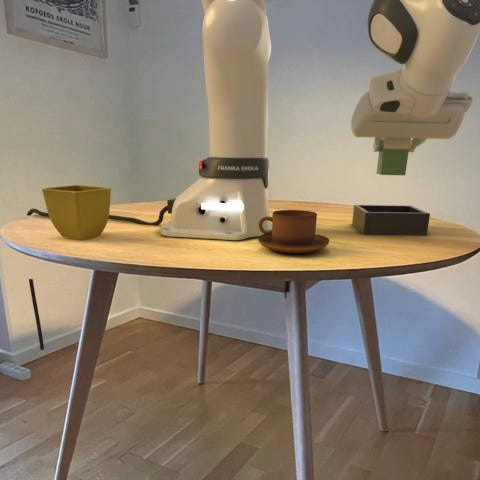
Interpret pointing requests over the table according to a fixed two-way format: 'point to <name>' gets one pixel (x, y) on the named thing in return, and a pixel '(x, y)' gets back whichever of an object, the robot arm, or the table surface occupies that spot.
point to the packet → (393, 156)
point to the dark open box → (390, 220)
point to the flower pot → (78, 209)
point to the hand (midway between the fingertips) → (392, 149)
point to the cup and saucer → (292, 232)
